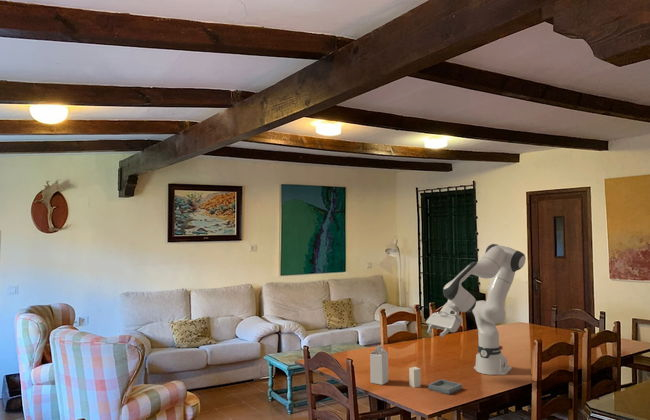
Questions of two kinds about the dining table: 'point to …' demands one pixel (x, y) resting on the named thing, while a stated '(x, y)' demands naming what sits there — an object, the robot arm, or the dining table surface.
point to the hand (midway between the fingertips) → (434, 334)
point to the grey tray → (445, 386)
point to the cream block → (414, 377)
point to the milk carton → (379, 366)
